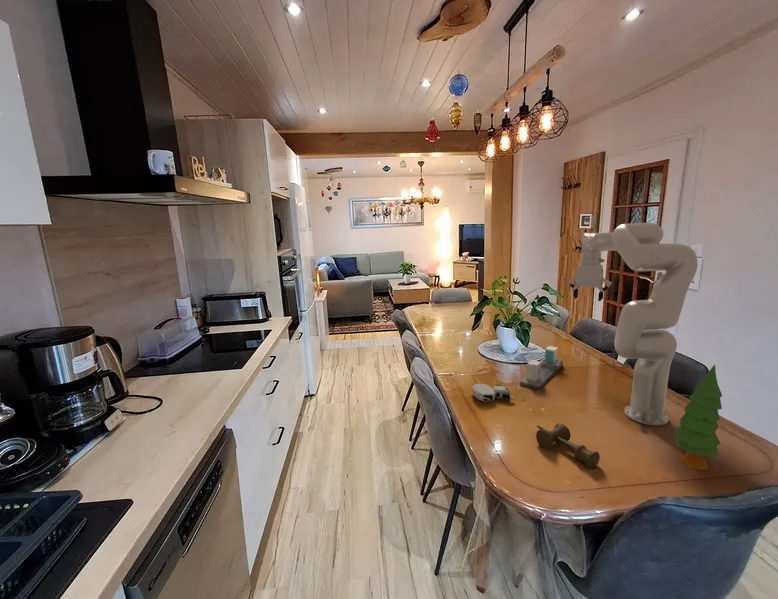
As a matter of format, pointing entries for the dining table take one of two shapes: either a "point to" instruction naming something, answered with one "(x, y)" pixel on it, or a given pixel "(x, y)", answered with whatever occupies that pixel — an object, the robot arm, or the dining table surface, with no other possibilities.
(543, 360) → the rail
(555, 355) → the cream block teal pad
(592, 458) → the kendama
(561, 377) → the dining table surface
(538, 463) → the dining table surface
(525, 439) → the dining table surface
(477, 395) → the robot toy
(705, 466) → the decorative tree
